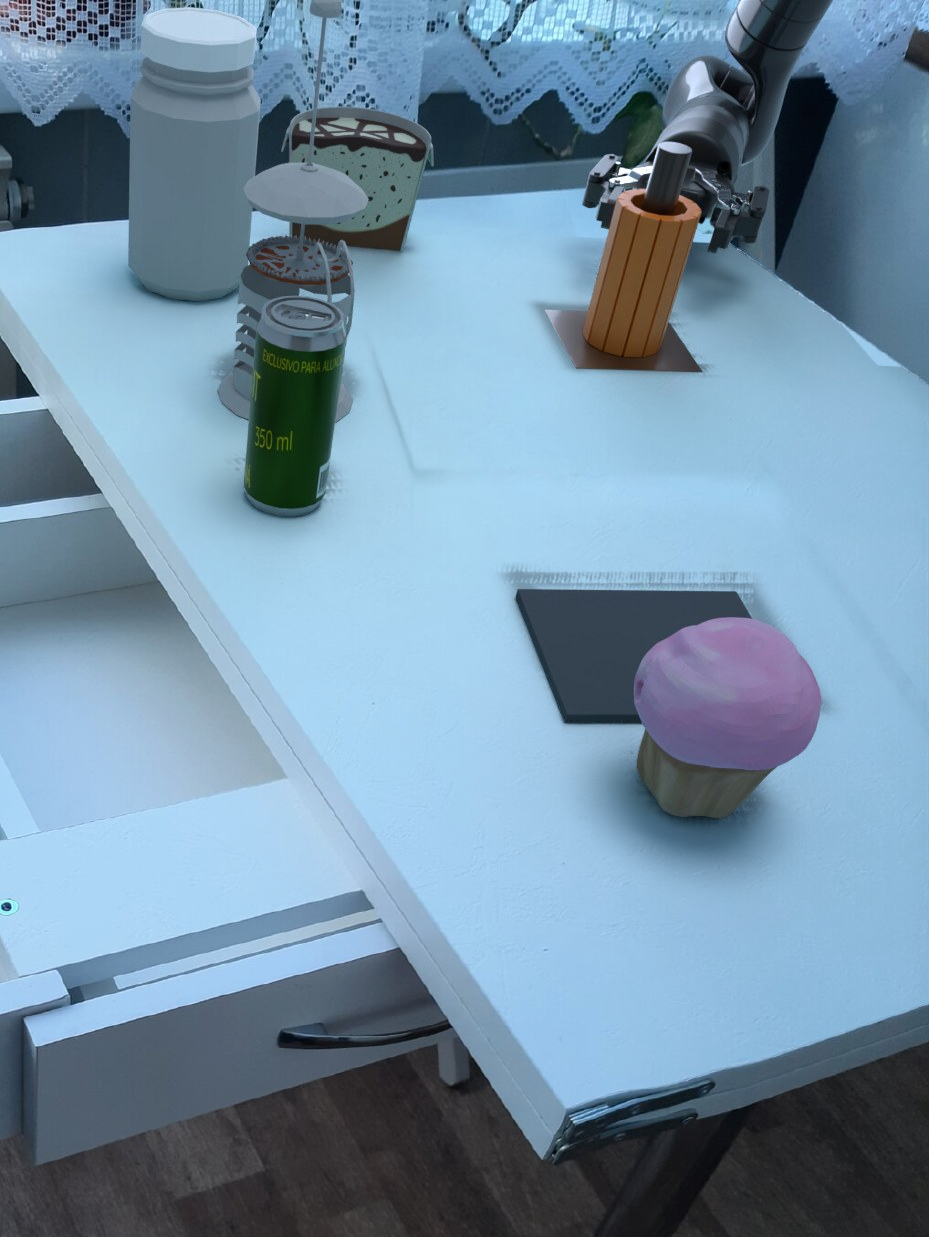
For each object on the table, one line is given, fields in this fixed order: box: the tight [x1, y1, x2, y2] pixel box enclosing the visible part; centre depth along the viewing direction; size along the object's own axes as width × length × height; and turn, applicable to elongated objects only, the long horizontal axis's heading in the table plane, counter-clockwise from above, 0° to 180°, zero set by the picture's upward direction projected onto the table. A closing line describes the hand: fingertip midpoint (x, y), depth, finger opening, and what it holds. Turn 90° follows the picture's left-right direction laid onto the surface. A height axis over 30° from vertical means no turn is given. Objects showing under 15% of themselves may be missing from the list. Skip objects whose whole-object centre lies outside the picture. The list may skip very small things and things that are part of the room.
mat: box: [515, 588, 753, 724], centre depth 81 cm, size 14×12×1 cm
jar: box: [127, 6, 262, 302], centre depth 105 cm, size 10×10×18 cm
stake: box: [543, 142, 704, 373], centre depth 103 cm, size 10×10×15 cm
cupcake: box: [634, 617, 822, 819], centre depth 69 cm, size 9×9×10 cm
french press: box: [217, 0, 369, 423], centre depth 90 cm, size 10×12×25 cm
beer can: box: [243, 295, 347, 518], centre depth 86 cm, size 5×5×12 cm
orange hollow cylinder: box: [583, 189, 702, 357], centre depth 104 cm, size 6×6×10 cm
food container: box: [280, 106, 435, 253], centre depth 115 cm, size 12×6×10 cm, turn 88°
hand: (661, 228), depth 108 cm, fingers open, 8 cm apart
